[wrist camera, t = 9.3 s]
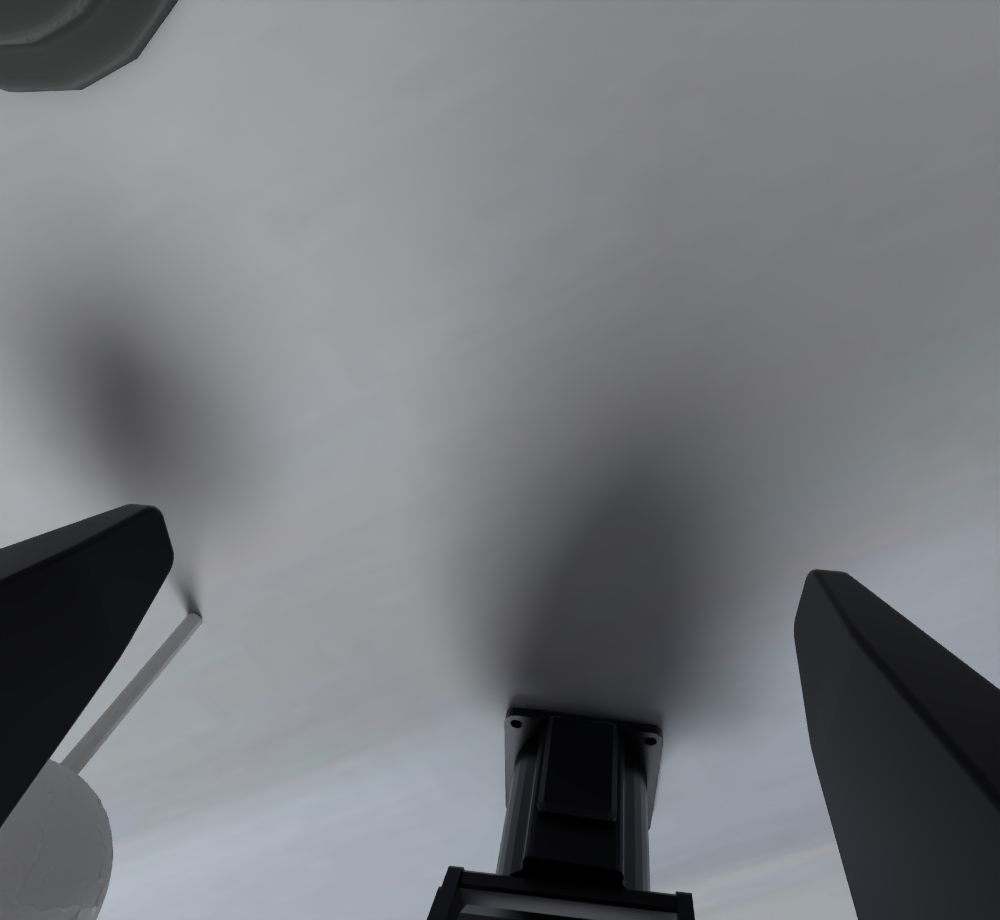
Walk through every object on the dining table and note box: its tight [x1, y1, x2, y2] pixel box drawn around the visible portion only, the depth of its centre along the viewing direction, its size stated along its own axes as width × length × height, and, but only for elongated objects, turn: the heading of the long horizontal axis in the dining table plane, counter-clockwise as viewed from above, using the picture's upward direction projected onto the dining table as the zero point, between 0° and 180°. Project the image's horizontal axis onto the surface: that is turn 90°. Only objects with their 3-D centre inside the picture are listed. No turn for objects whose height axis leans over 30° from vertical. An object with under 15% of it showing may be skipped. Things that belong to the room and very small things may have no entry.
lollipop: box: [0, 613, 202, 920], centre depth 22 cm, size 7×7×15 cm
